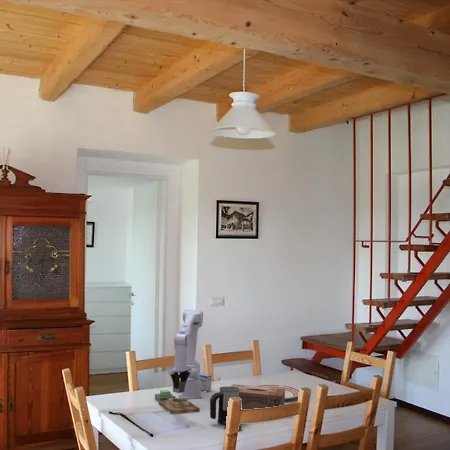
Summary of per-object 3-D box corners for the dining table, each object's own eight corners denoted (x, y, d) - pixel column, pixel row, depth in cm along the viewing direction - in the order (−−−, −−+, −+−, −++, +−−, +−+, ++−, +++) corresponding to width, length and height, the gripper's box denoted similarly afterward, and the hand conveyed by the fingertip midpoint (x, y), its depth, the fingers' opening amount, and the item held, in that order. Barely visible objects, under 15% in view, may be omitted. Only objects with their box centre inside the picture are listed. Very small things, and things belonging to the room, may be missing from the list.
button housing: (169, 398, 292) (170, 393, 292) (175, 402, 285) (175, 396, 285) (154, 399, 289) (155, 394, 289) (159, 403, 282) (160, 398, 282)
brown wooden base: (185, 401, 286) (185, 394, 286) (199, 411, 270) (199, 404, 270) (158, 403, 280) (158, 396, 280) (170, 414, 264) (171, 406, 264)
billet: (178, 390, 278) (178, 379, 279) (184, 391, 276) (185, 381, 276) (172, 391, 275) (173, 381, 276) (178, 393, 273) (179, 382, 273)
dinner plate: (283, 406, 287) (283, 399, 287) (238, 396, 303) (238, 389, 303) (310, 396, 309) (310, 390, 309) (267, 387, 325) (267, 381, 325)
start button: (167, 394, 290) (167, 389, 290) (170, 396, 286) (170, 391, 286) (160, 395, 288) (160, 390, 288) (162, 397, 284) (162, 392, 284)
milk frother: (226, 418, 261) (227, 385, 262) (254, 426, 251) (256, 391, 252) (205, 424, 250) (207, 390, 251) (234, 433, 240) (235, 397, 241)
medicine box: (194, 390, 310) (194, 374, 311) (198, 389, 314) (199, 372, 315) (207, 392, 307) (207, 376, 307) (211, 391, 311) (211, 374, 311)
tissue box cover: (284, 409, 281) (285, 388, 281) (280, 417, 267) (281, 395, 267) (232, 404, 286) (233, 384, 287) (226, 412, 272) (227, 390, 272)
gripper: (185, 355, 284) (183, 383, 284) (163, 359, 273) (162, 388, 272) (195, 358, 280) (194, 386, 279) (174, 361, 268) (173, 391, 268)
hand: (179, 387), depth 275 cm, fingers closed on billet, 4 cm apart
